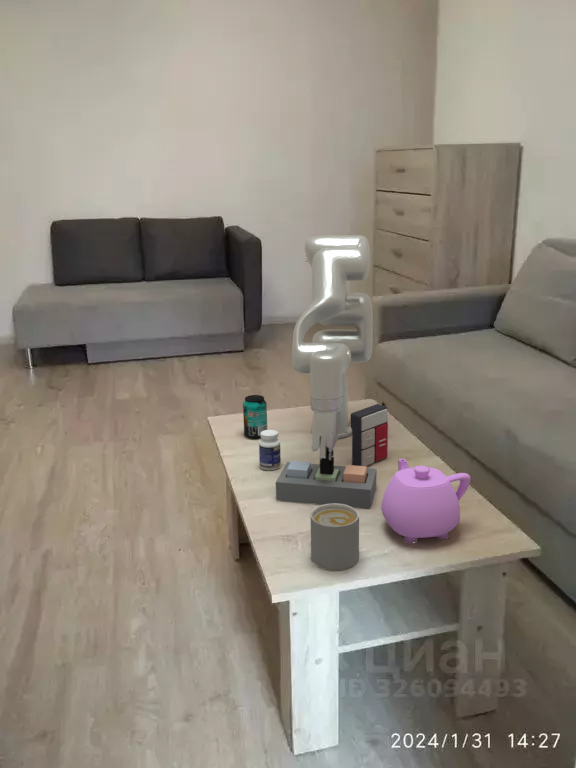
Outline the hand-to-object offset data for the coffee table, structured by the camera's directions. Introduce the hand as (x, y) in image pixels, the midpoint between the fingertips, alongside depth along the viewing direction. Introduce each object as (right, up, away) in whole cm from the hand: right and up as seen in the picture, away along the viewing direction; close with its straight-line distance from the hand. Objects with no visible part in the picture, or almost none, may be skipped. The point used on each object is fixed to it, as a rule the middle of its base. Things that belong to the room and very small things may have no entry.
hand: (326, 472), depth 174 cm
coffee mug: (0, -14, -24) cm, 28 cm away
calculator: (+13, 0, +20) cm, 23 cm away
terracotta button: (+7, -4, 0) cm, 8 cm away
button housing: (0, -5, +2) cm, 6 cm away
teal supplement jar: (-19, +6, +40) cm, 45 cm away
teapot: (+21, -10, -14) cm, 27 cm away
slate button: (-7, -3, +3) cm, 8 cm away
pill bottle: (-14, -1, +18) cm, 23 cm away
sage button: (0, -5, +2) cm, 5 cm away
